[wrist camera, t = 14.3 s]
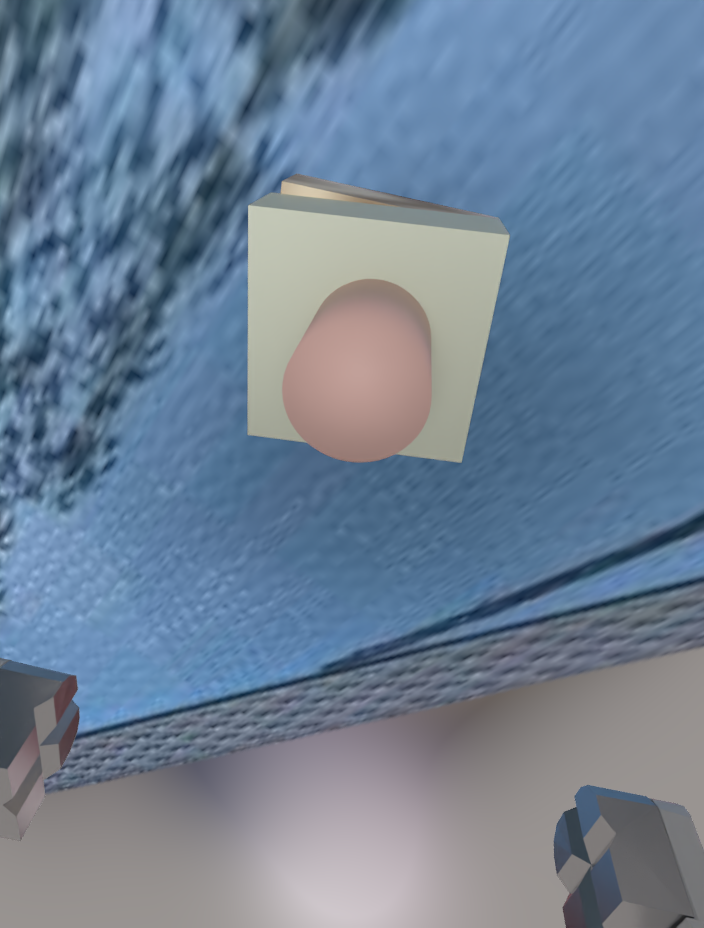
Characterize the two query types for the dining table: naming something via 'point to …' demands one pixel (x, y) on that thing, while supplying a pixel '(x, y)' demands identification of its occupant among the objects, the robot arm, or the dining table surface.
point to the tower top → (371, 257)
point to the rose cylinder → (361, 373)
